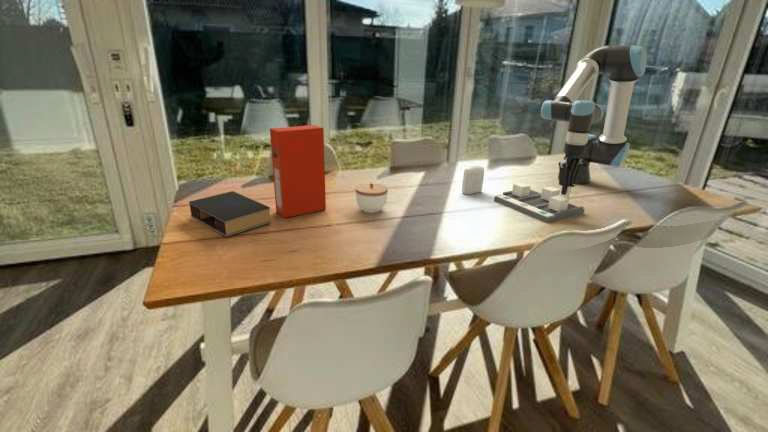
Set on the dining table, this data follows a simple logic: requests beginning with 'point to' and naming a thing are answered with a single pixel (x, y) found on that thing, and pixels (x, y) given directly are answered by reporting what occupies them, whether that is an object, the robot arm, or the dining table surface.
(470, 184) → the photo printer
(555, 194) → the middle tab
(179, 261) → the dining table surface
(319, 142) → the file binder
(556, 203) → the tab
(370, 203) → the lidded bowl
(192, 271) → the dining table surface
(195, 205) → the book
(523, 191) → the tab
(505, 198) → the dark grey slotted tray
